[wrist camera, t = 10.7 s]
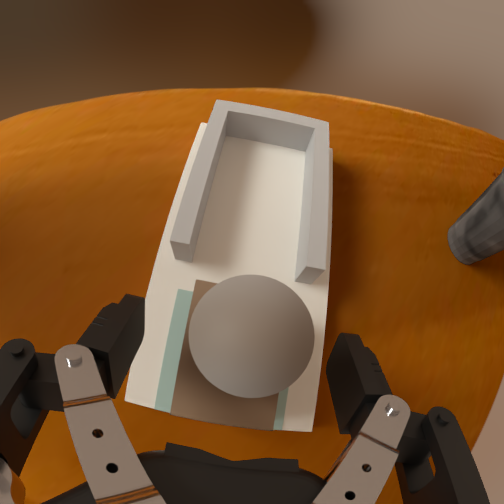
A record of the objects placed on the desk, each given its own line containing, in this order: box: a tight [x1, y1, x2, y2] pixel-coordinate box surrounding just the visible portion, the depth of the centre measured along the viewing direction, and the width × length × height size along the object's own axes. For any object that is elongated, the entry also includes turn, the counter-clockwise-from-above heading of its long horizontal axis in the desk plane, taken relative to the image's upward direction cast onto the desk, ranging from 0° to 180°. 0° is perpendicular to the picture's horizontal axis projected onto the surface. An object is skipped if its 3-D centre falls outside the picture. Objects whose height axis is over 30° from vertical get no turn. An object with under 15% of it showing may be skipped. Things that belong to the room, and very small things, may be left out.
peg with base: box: [170, 275, 315, 431], centre depth 13 cm, size 7×5×12 cm
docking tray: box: [125, 100, 333, 432], centre depth 21 cm, size 23×12×4 cm, turn 171°
